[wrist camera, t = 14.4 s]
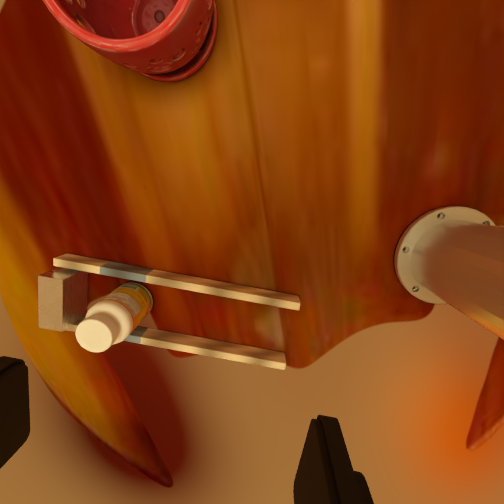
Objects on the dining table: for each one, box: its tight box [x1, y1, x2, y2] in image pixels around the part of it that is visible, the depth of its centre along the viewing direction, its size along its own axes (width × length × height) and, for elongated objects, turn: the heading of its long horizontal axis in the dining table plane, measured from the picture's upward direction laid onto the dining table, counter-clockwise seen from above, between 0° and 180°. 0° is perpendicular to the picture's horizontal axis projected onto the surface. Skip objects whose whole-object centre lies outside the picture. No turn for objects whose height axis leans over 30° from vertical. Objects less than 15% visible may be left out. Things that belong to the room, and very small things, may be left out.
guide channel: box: [38, 253, 301, 370], centre depth 36 cm, size 32×10×5 cm, turn 80°
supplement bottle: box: [76, 282, 153, 352], centre depth 34 cm, size 5×5×10 cm
